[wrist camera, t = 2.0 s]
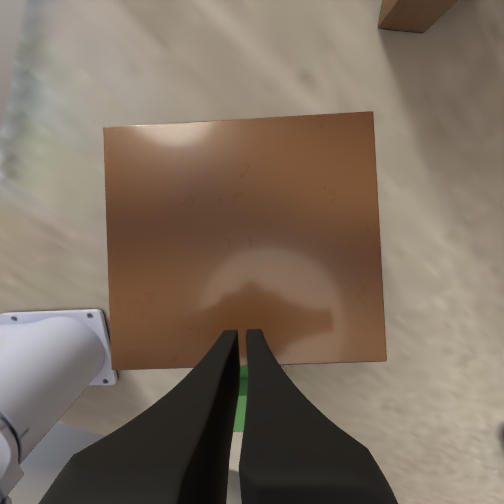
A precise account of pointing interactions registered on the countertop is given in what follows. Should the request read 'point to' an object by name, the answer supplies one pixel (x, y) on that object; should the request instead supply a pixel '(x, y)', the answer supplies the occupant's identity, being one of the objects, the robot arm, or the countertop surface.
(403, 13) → the wooden toy
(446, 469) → the countertop surface
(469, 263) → the countertop surface
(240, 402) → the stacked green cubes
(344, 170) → the lid
